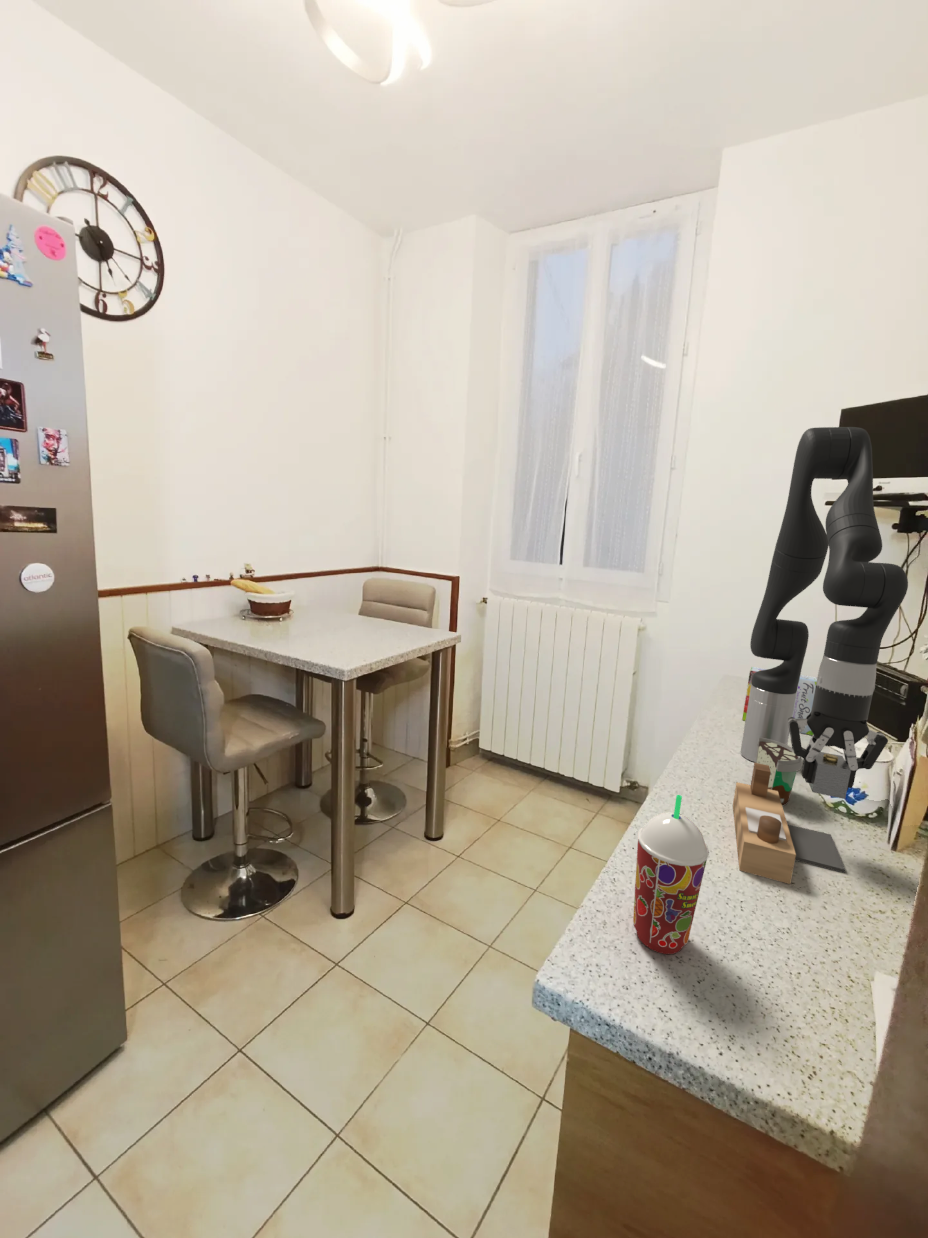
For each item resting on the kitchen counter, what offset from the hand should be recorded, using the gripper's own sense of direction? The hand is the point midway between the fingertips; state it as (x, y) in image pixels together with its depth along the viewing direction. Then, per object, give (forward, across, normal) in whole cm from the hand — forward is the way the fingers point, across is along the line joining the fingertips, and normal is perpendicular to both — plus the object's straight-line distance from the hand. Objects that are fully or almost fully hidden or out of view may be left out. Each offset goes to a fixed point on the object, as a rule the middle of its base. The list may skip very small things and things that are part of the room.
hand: (825, 784), depth 90 cm
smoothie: (+12, +22, +34) cm, 42 cm away
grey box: (+1, 0, 0) cm, 1 cm away
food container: (+12, +4, -18) cm, 22 cm away
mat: (+12, 0, 0) cm, 12 cm away
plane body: (+12, +8, +2) cm, 15 cm away
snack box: (+12, -4, -65) cm, 66 cm away
